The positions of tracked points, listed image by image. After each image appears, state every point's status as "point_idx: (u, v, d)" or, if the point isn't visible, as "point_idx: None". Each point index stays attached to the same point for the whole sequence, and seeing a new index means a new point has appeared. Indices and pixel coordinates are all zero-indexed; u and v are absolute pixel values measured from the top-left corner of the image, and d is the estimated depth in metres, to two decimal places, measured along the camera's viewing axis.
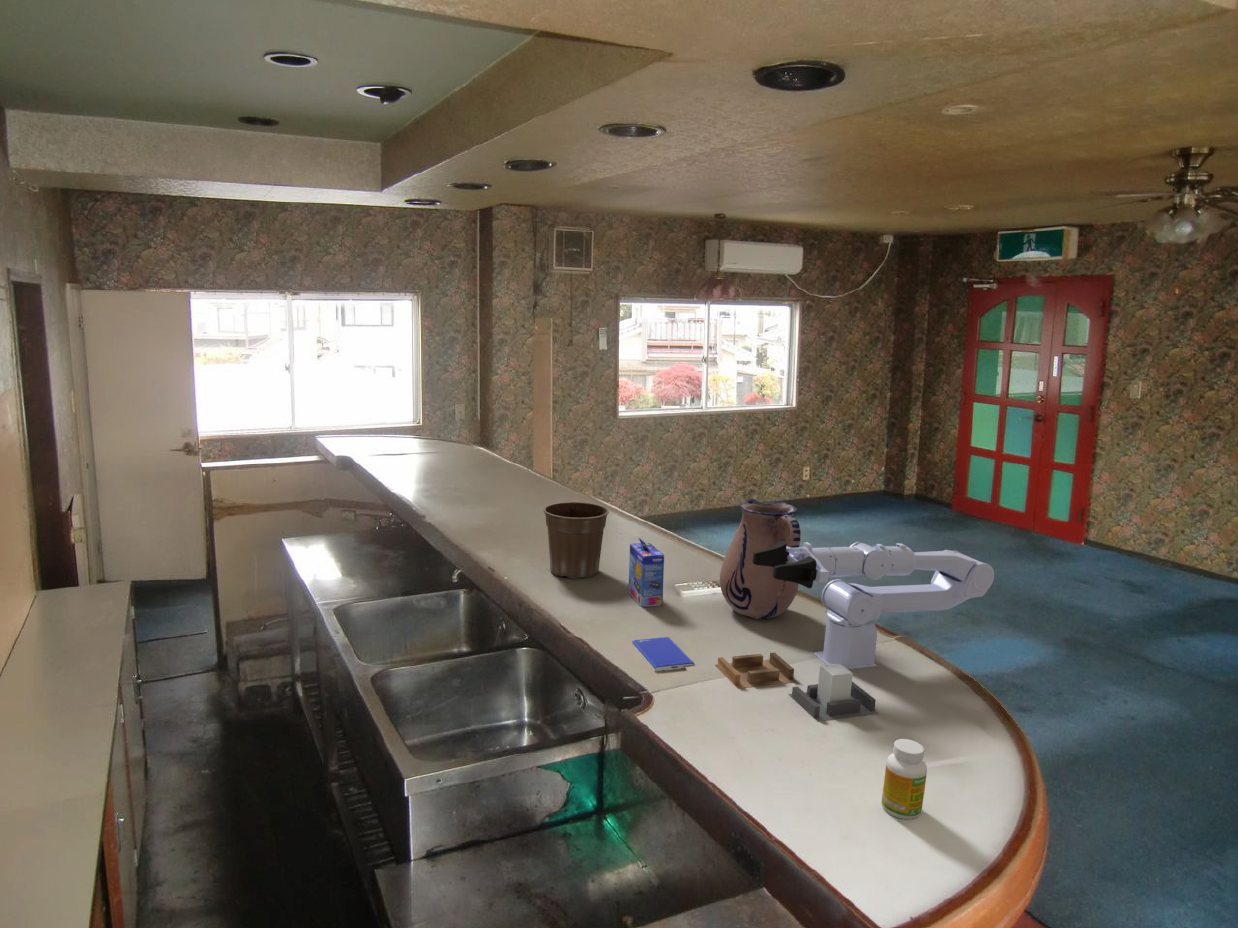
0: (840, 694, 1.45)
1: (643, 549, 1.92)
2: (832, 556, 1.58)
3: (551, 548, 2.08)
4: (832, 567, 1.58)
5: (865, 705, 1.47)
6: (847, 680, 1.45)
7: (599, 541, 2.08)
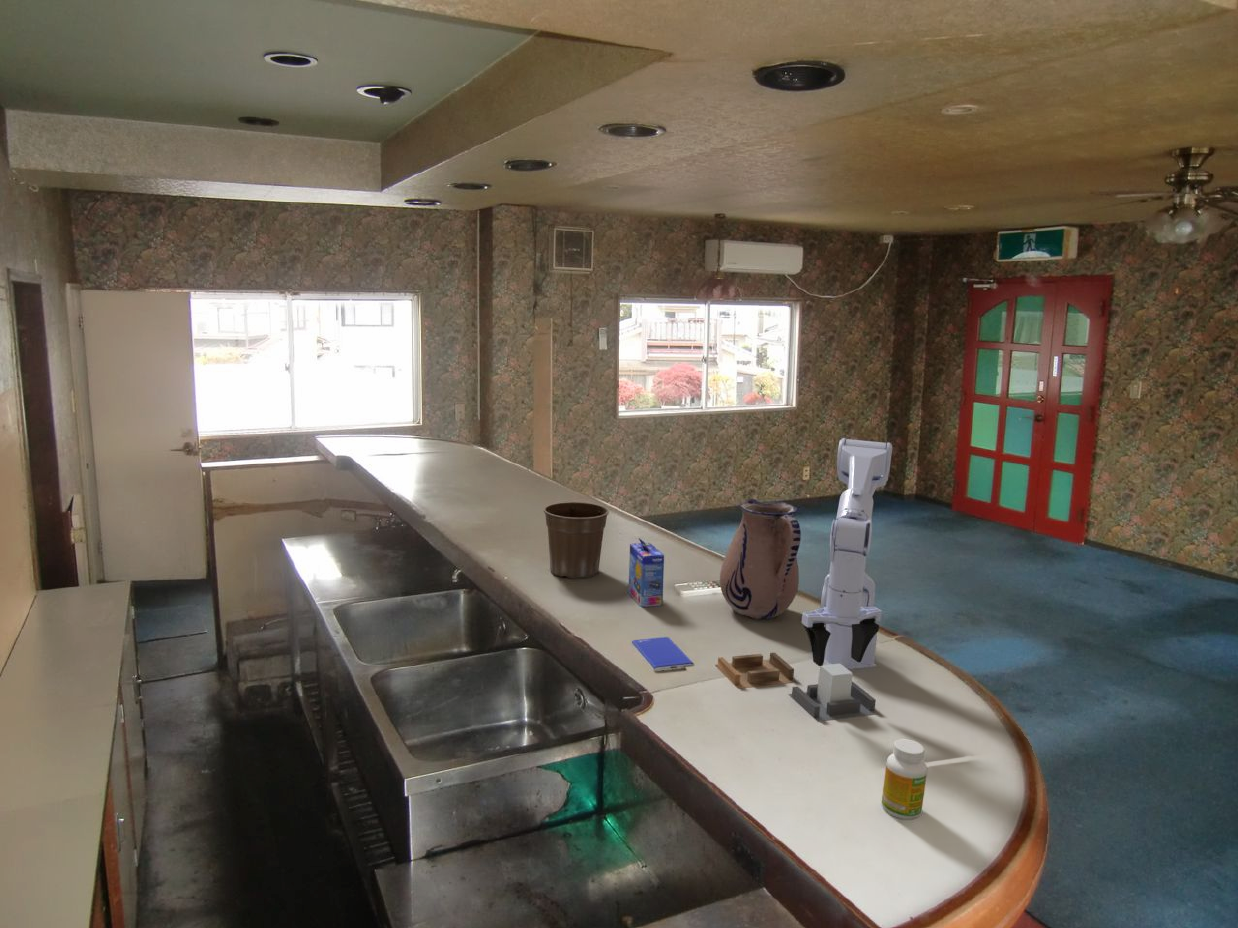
0: (840, 694, 1.45)
1: (643, 549, 1.92)
2: (861, 592, 1.43)
3: (551, 548, 2.08)
4: None
5: (865, 705, 1.47)
6: (847, 680, 1.45)
7: (599, 541, 2.08)
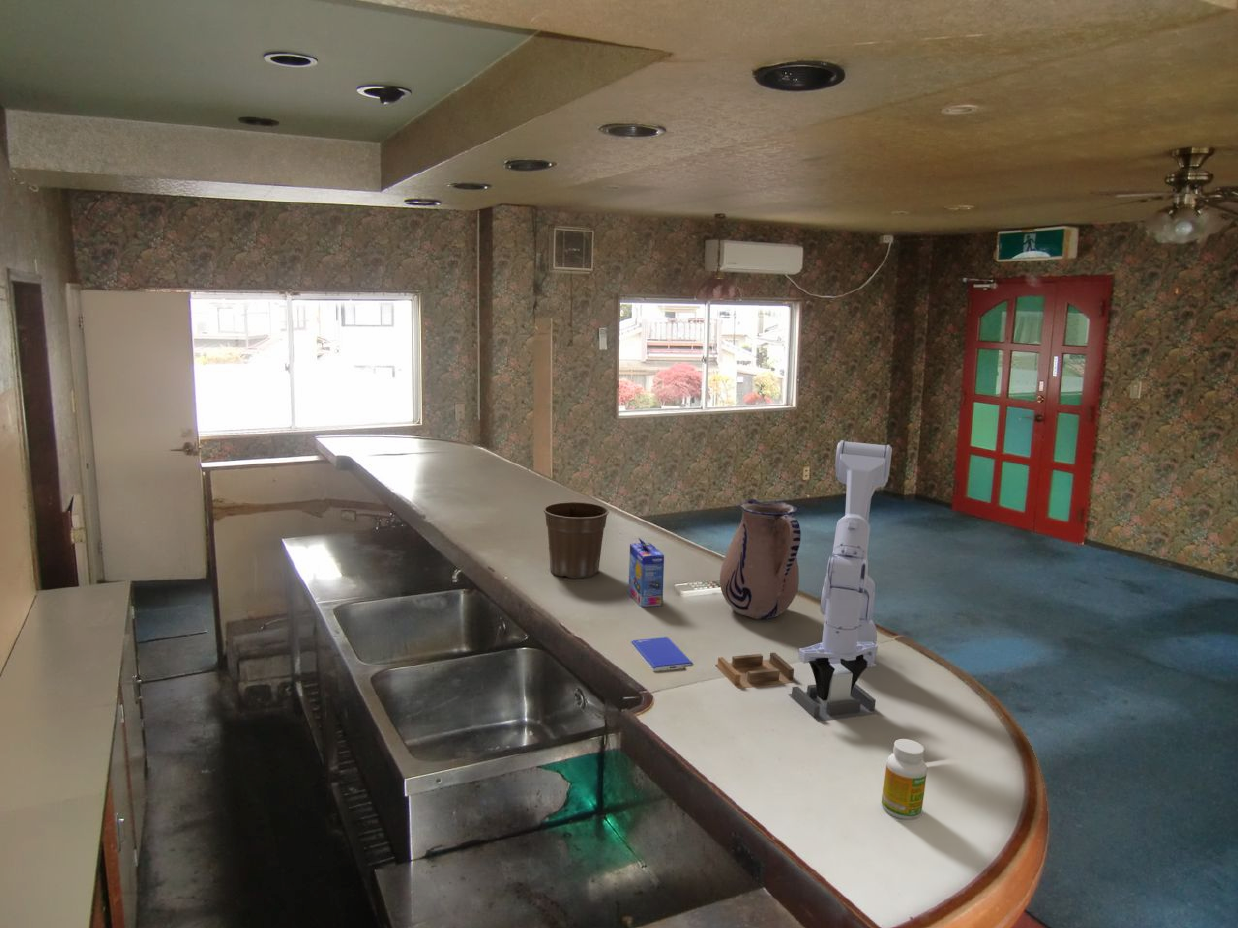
0: (840, 694, 1.45)
1: (643, 549, 1.92)
2: (857, 628, 1.44)
3: (551, 548, 2.08)
4: None
5: (865, 705, 1.47)
6: (847, 680, 1.45)
7: (599, 541, 2.08)
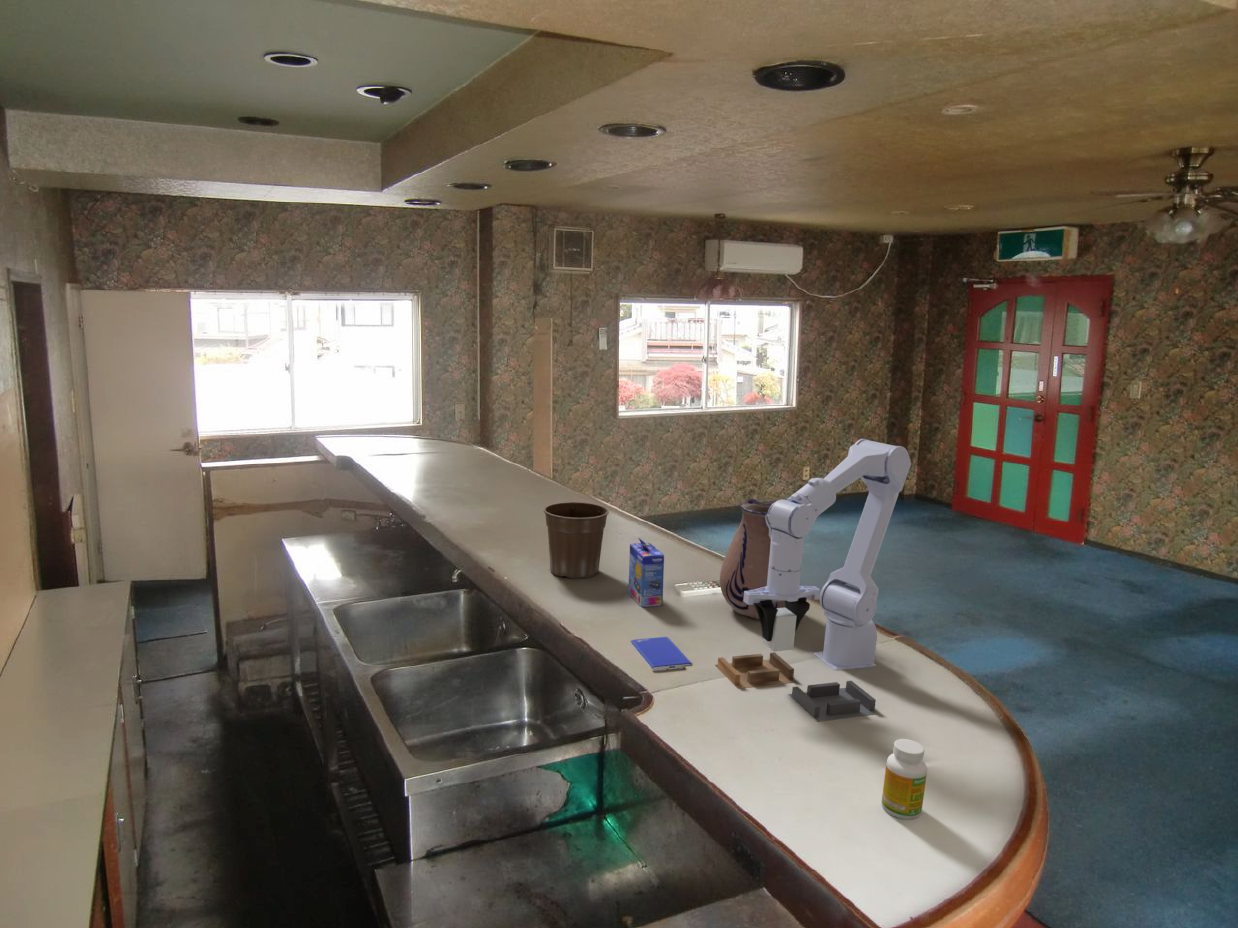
0: (784, 636, 1.52)
1: (643, 549, 1.92)
2: (800, 571, 1.50)
3: (551, 548, 2.08)
4: None
5: (865, 705, 1.47)
6: (791, 622, 1.52)
7: (599, 541, 2.08)
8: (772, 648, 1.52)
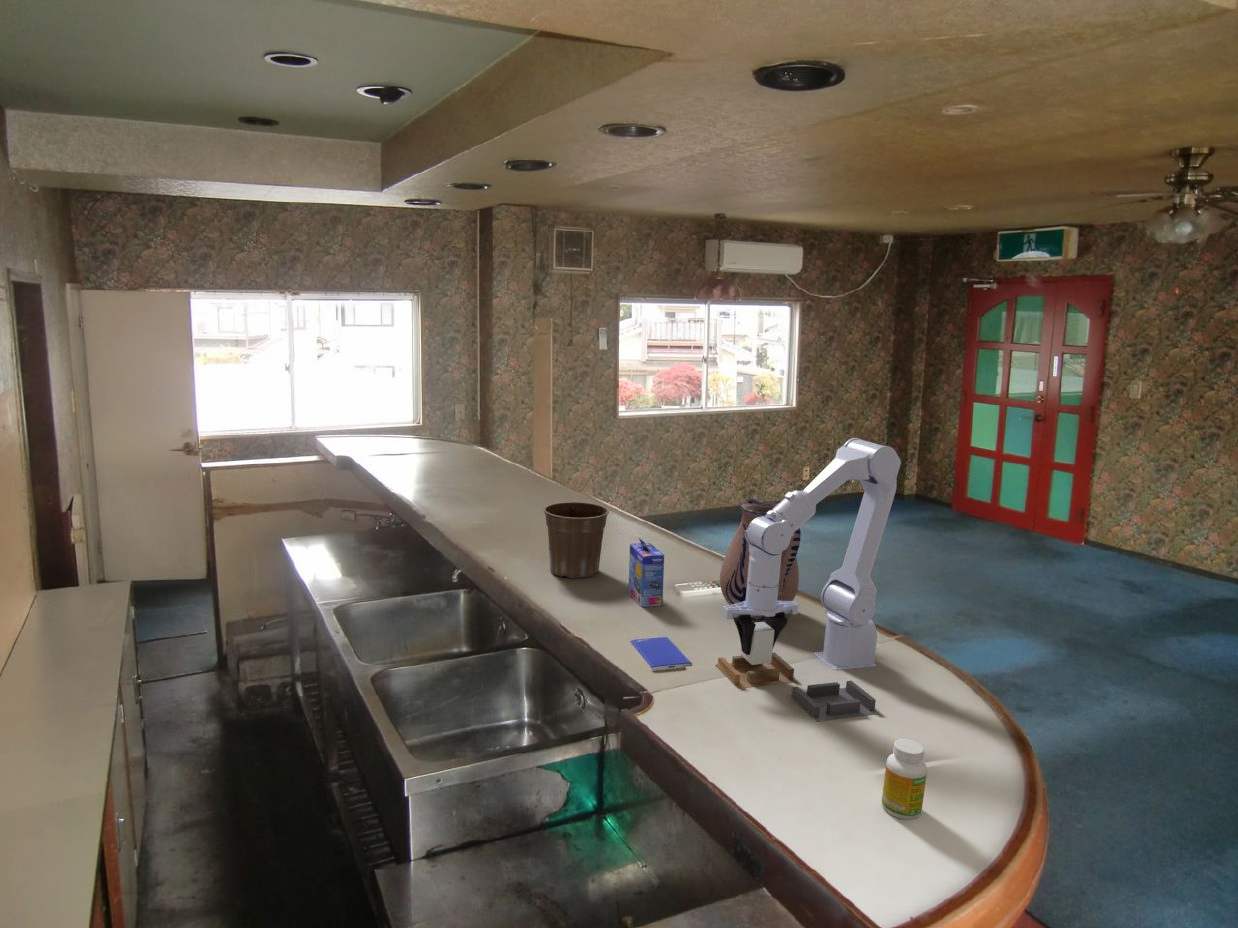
0: (762, 650, 1.55)
1: (643, 549, 1.92)
2: (777, 587, 1.54)
3: (551, 548, 2.08)
4: None
5: (865, 705, 1.47)
6: (769, 636, 1.55)
7: (599, 541, 2.08)
8: (750, 662, 1.56)
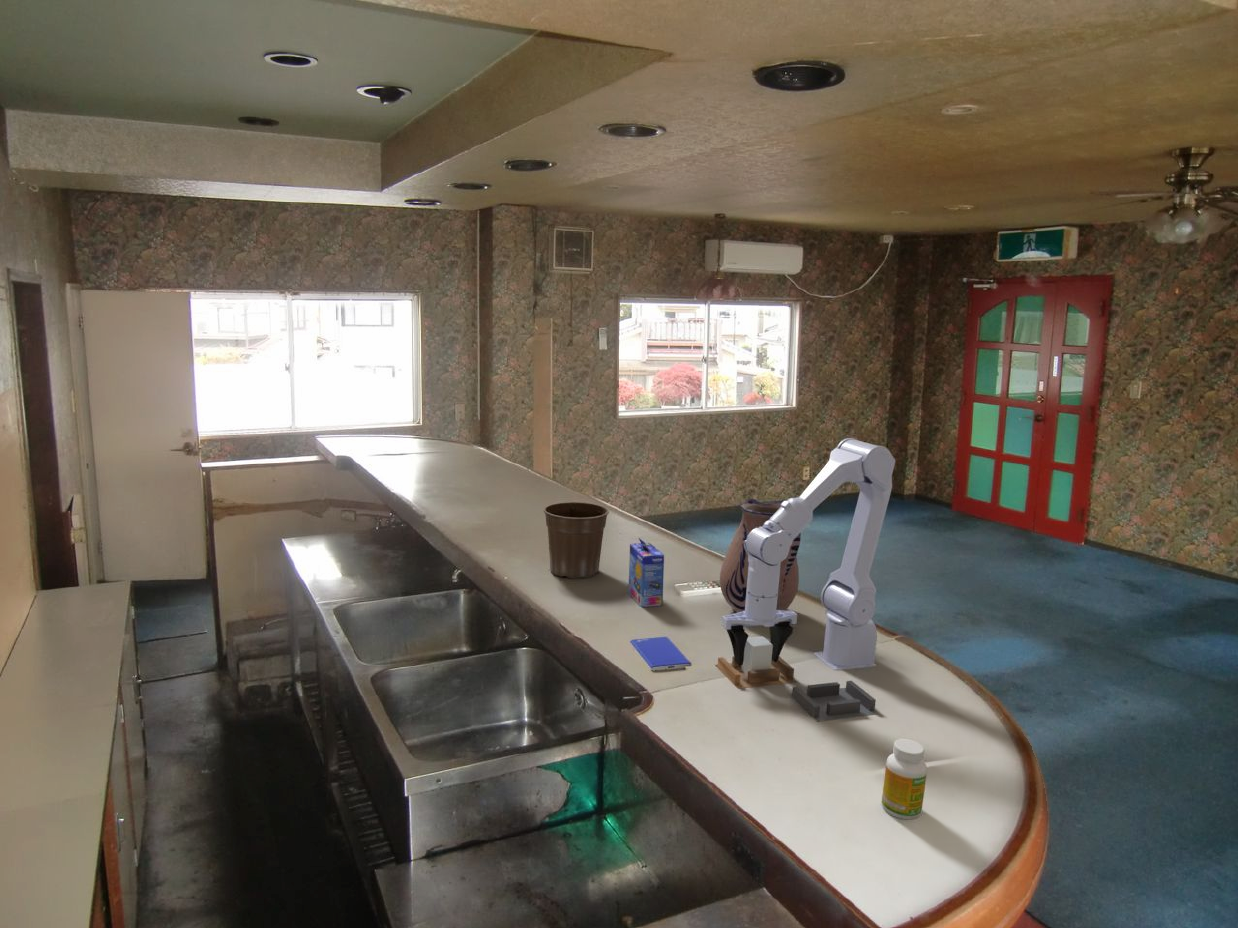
0: (761, 664, 1.56)
1: (643, 549, 1.92)
2: (776, 597, 1.54)
3: (551, 548, 2.08)
4: None
5: (865, 705, 1.47)
6: (767, 651, 1.56)
7: (599, 541, 2.08)
8: None
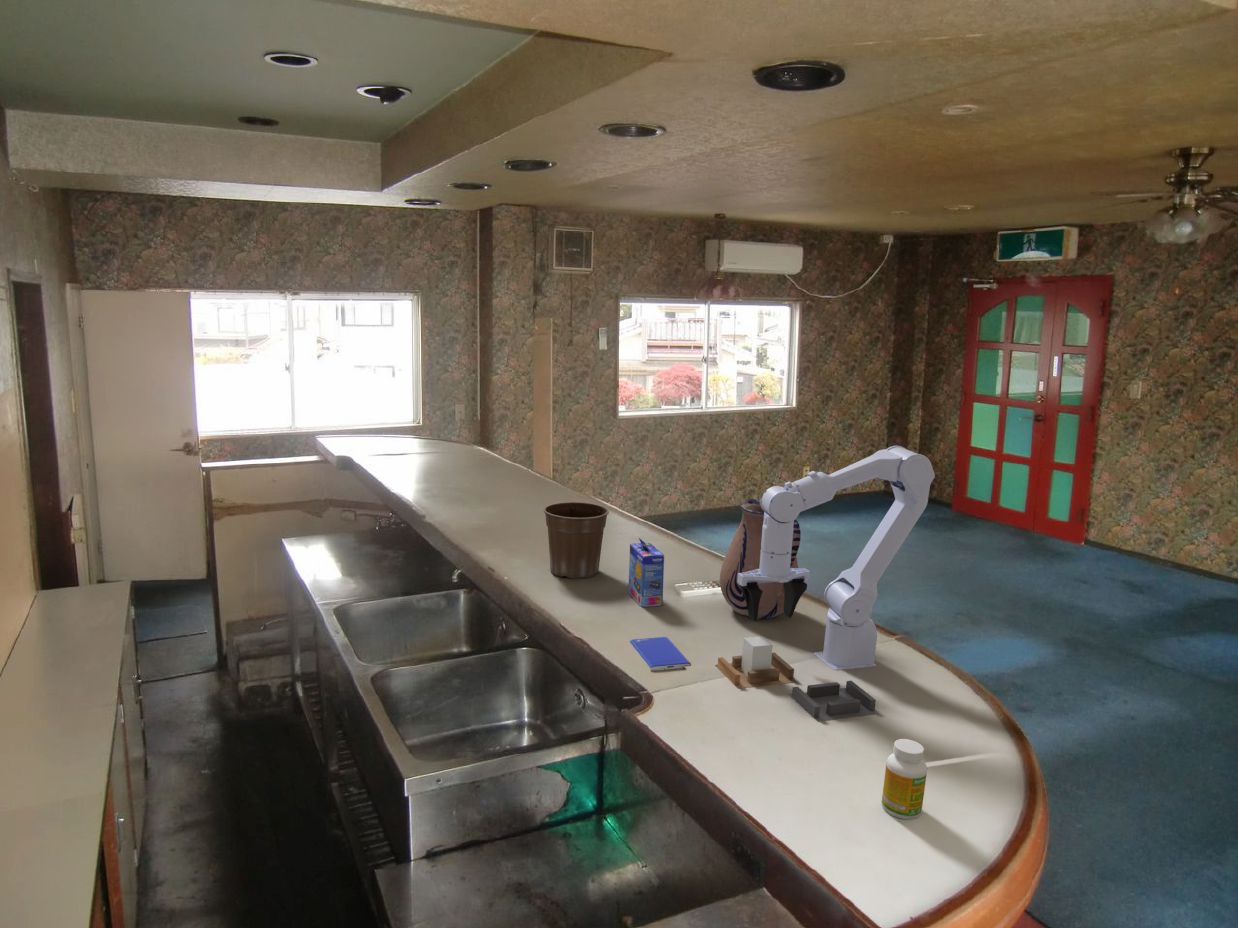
0: (761, 664, 1.56)
1: (643, 549, 1.92)
2: (790, 554, 1.59)
3: (551, 548, 2.08)
4: None
5: (865, 705, 1.47)
6: (767, 651, 1.56)
7: (599, 541, 2.08)
8: None
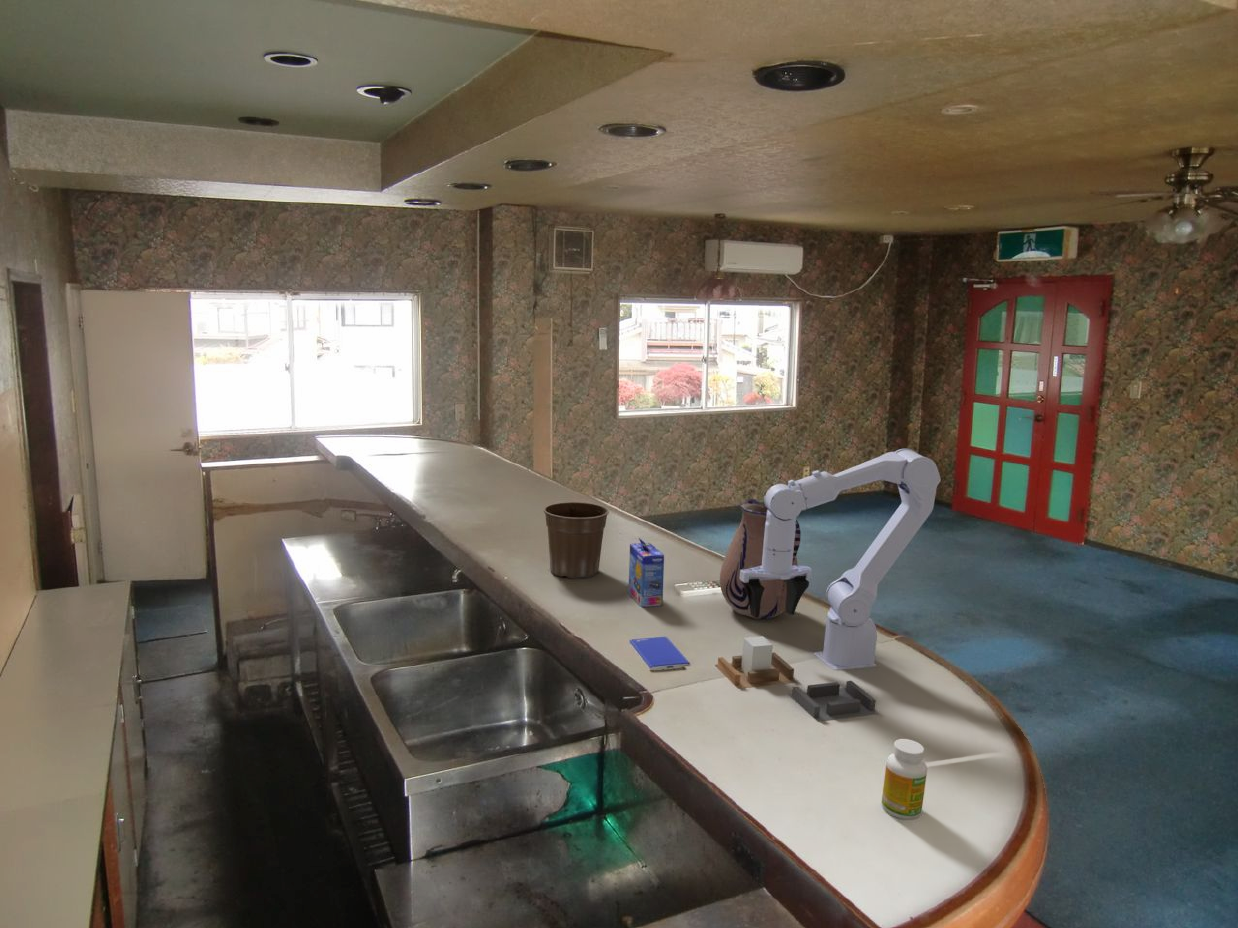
0: (761, 664, 1.56)
1: (643, 549, 1.92)
2: (792, 551, 1.60)
3: (551, 548, 2.08)
4: None
5: (865, 705, 1.47)
6: (767, 651, 1.56)
7: (599, 541, 2.08)
8: None
